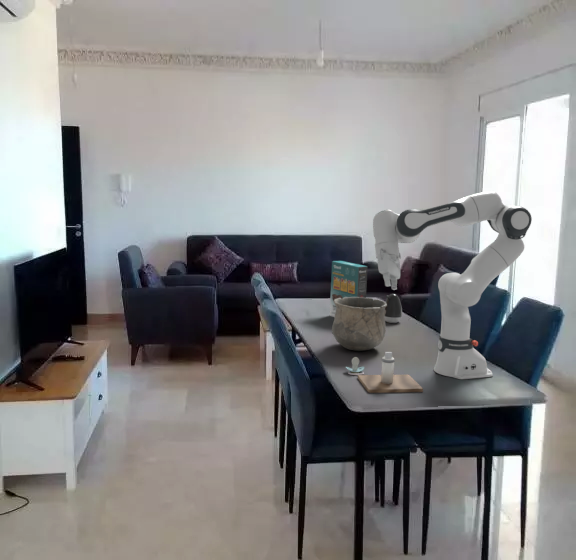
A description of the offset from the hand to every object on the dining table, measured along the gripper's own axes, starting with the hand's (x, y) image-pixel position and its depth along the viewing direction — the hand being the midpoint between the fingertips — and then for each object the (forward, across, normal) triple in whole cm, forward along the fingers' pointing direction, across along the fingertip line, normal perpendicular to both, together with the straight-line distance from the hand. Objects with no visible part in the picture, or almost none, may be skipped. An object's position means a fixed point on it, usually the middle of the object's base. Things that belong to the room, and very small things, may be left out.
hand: (391, 287), depth 235 cm
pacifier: (+31, +6, +19) cm, 37 cm away
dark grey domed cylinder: (+2, +95, +24) cm, 98 cm away
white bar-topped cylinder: (+35, -1, +5) cm, 35 cm away
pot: (+19, +38, +27) cm, 51 cm away
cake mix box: (-1, +88, +46) cm, 99 cm away
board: (+36, 0, +5) cm, 36 cm away
